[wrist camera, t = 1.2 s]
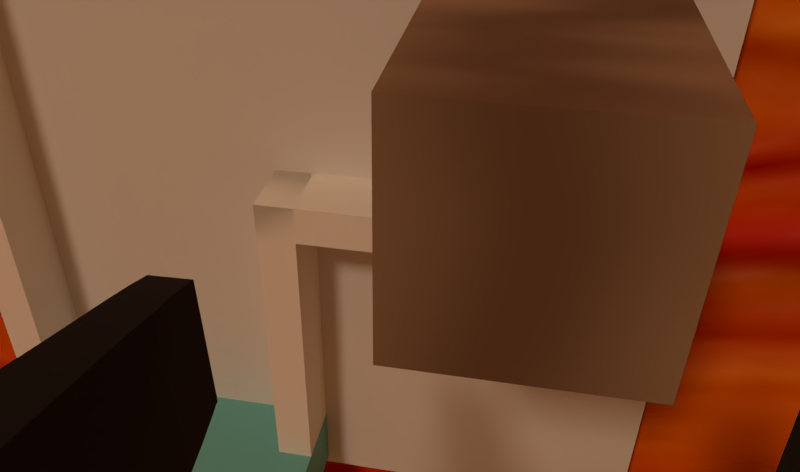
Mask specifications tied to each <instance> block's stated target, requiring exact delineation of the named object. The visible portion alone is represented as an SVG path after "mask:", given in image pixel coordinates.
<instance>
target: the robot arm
mask: <svg viewBox="0 0 800 472" xmlns="http://www.w3.org/2000/svg"><path fill="white" fill-rule="evenodd" d="M217 402H218V400H217V395H216V390H215V385H214V380H213V375H212V370H211V365H210V360H209V355H208V350H207V345H206V340H205V335H204V330H203V325H202V320H201V315H200V310H199V305H198V300H197V295H196V290H195V285H194V280H192V279H182V278H172V277H162V276H152V275H146V276H145V277H143V278H141V279H139V280H138V281H136V282H134V283H132V284H131V285H129V286H127V287H126V288H124V289H123V290H121V291H119V292H118V293H116V294H115V295H113V296H111V297H110V298H108V299H107V300H105V301H104V302H102V303H101V304H99V305H98V306H96V307H94V308H93V309H91V310H90V311H88V312H87V313H85V314H84V315H82V316H81V317H79V318H78V319H76V320H75V321H73V322H72V323H70V324H69V325H67V326H66V327H64V328H63V329H61V330H60V331H58V332H56V333H55V334H53V335H52V336H50V337H49V338H47V339H46V340H44V341H43V342H41V343H40V344H38V345H36V346H35V347H33V348H32V349H30V350H29V351H27V352H26V353H24V354H23V355H21V356H19V357H18V358H16V359H15V360H13V361H12V362H10V363H9V364H7V365H6V366H4V367H2V368H1V369H0V472H192V470H193V467H194V465H195V462H196V459H197V457H198V454H199V452H200V449H201V446H202V444H203V441H204V438H205V436H206V433H207V430H208V427H209V424H210V421H211V419H212V416H213V413H214V410H215V407H216V404H217ZM776 472H800V411H799V413H798V416H797V419H796V421H795V424H794V426H793V429H792V432H791V434H790V437H789V439H788V442H787V444H786V447H785V450H784V452H783V455H782V457H781V460H780V463H779V465H778V468H777V470H776Z"/></svg>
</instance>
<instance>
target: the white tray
mask: <svg viewBox="0 0 800 472" xmlns="http://www.w3.org/2000/svg"><path fill="white" fill-rule="evenodd" d="M420 2H421V0H0V312H1V315H2V318H3V320H4V323H5V326H6V329H7V332H8V335H9V337H10V340H11V343H12V346H13V349H14V352H15V355H16V357H17V358H18V357H19V356H21V355H23V354H24V353H26V352H27V351H29V350H30V349H32V348H33V347H35V346H36V345H38V344H40V343H41V342H43V341H44V340H46V339H47V338H49V337H50V336H52V335H53V334H55V333H56V332H58V331H60V330H61V329H63V328H64V327H66V326H67V325H69V324H70V323H72V322H73V321H75V320H76V319H78V318H79V317H81V316H82V315H84V314H85V313H87V312H88V311H90V310H91V309H93V308H94V307H96V306H98V305H99V304H101V303H102V302H104V301H105V300H107V299H108V298H110V297H111V296H113V295H115V294H116V293H118V292H119V291H121V290H123V289H124V288H126V287H127V286H129V285H131V284H132V283H134V282H136V281H138V280H139V279H141V278H143V277H145V276H146V275H152V276H162V277H172V278H182V279H192V280H194V285H195V290H196V295H197V300H198V305H199V310H200V315H201V320H202V325H203V330H204V335H205V340H206V345H207V350H208V355H209V360H210V365H211V370H212V375H213V380H214V385H215V390H216V395H217V400H218V402H217V404H216V407H215V410H214V413H213V416H212V419H211V421H210V424H209V427H208V430H207V433H206V436H205V438H204V441H203V444H202V446H201V449H200V452H199V454H198V457H197V459H196V462H195V465H194V467H193V470H192V472H323V471H324V468H325V465H326V462H327V461H331V462H337V463H344V464H350V465H357V466H363V467H370V468H376V469H383V470H389V471H395V472H627V471H628V467H629V463H630V460H631V456H632V452H633V449H634V445H635V441H636V438H637V434H638V430H639V426H640V423H641V419H642V415H643V412H644V408H645V404H646V402H642V401H635V400H627V399H620V398H613V397H605V396H598V395H591V394H583V393H576V392H568V391H561V390H554V389H546V388H539V387H532V386H524V385H517V384H509V383H502V382H495V381H487V380H480V379H473V378H465V377H458V376H450V375H443V374H436V373H428V372H421V371H414V370H406V369H399V368H391V367H384V366H377V365H373V283H372V125H371V92H372V90H373V88H374V86H375V84H376V83H377V81H378V79H379V77H380V75H381V73H382V71H383V70H384V68H385V66H386V64H387V62H388V60H389V59H390V57H391V55H392V53H393V51H394V49H395V48H396V46H397V44H398V42H399V40H400V38H401V37H402V35H403V33H404V31H405V29H406V27H407V26H408V24H409V22H410V20H411V18H412V16H413V15H414V13H415V11H416V9H417V7H418V5H419V4H420ZM694 2H695V4H696V6H697V8H698V9H699V11H700V13H701V15H702V17H703V19H704V21H705V23H706V25H707V27H708V29H709V31H710V33H711V35H712V37H713V39H714V41H715V43H716V45H717V47H718V49H719V51H720V53H721V55H722V57H723V58H724V60H725V62H726V64H727V66H728V68H729V70H730V72H731V74H732V76H733V78H734V74H735V70H736V67H737V63H738V59H739V56H740V52H741V48H742V44H743V41H744V37H745V33H746V30H747V26H748V22H749V19H750V15H751V11H752V7H753V4H754V0H694Z"/></svg>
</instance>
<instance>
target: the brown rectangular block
mask: <svg viewBox="0 0 800 472" xmlns="http://www.w3.org/2000/svg"><path fill="white" fill-rule="evenodd" d="M371 125H372V283H373V365H377V366H384V367H391V368H399V369H406V370H414V371H421V372H428V373H436V374H443V375H450V376H458V377H465V378H473V379H480V380H487V381H495V382H502V383H509V384H517V385H524V386H532V387H539V388H546V389H554V390H561V391H568V392H576V393H583V394H591V395H598V396H605V397H613V398H620V399H627V400H635V401H642V402H650V403H657V404H664V405H672V406H673V405H674V402H675V398H676V395H677V392H678V388H679V385H680V382H681V378H682V375H683V372H684V368H685V365H686V362H687V358H688V355H689V352H690V348H691V345H692V341H693V338H694V335H695V331H696V328H697V325H698V321H699V318H700V315H701V311H702V308H703V305H704V301H705V298H706V295H707V291H708V288H709V284H710V281H711V278H712V274H713V271H714V268H715V264H716V261H717V258H718V254H719V251H720V248H721V244H722V241H723V238H724V234H725V231H726V228H727V224H728V221H729V217H730V214H731V211H732V207H733V204H734V201H735V197H736V194H737V191H738V187H739V184H740V181H741V177H742V174H743V171H744V167H745V164H746V160H747V157H748V154H749V150H750V147H751V144H752V140H753V137H754V134H755V130H756V127H757V123H756V121H755V119H754V117H753V115H752V113H751V111H750V109H749V107H748V106H747V104H746V102H745V100H744V98H743V96H742V94H741V92H740V90H739V88H738V86H737V84H736V82H735V80H734V78H733V76H732V74H731V72H730V70H729V68H728V66H727V64H726V62H725V60H724V58H723V57H722V55H721V53H720V51H719V49H718V47H717V45H716V43H715V41H714V39H713V37H712V35H711V33H710V31H709V29H708V27H707V25H706V23H705V21H704V19H703V17H702V15H701V13H700V11H699V9H698V8H697V6H696V4H695V2H694V0H421V2H420V4H419V5H418V7H417V9H416V11H415V13H414V15H413V16H412V18H411V20H410V22H409V24H408V26H407V27H406V29H405V31H404V33H403V35H402V37H401V38H400V40H399V42H398V44H397V46H396V48H395V49H394V51H393V53H392V55H391V57H390V59H389V60H388V62H387V64H386V66H385V68H384V70H383V71H382V73H381V75H380V77H379V79H378V81H377V83H376V84H375V86H374V88H373V90H372V92H371Z"/></svg>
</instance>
